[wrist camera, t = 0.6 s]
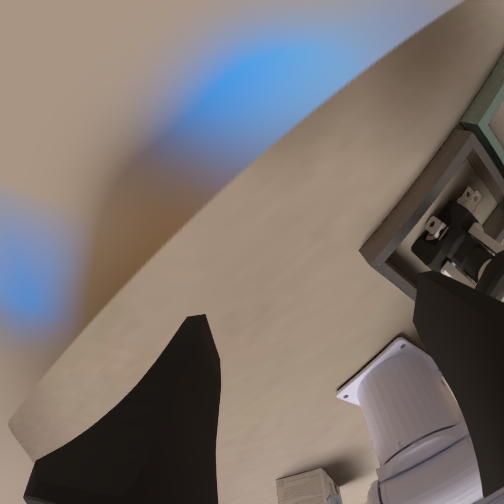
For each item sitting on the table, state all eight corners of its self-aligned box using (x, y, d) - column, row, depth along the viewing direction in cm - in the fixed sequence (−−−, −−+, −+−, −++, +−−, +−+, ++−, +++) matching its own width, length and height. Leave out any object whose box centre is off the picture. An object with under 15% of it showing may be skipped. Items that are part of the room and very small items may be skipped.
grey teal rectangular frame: (561, 118, 16) (576, 122, 14) (430, 309, 23) (442, 324, 21) (514, 32, 13) (531, 31, 11) (358, 250, 21) (369, 265, 19)
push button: (447, 165, 18) (557, 218, 9) (484, 207, 20) (576, 268, 11) (394, 243, 20) (476, 335, 11) (436, 275, 22) (510, 360, 13)
